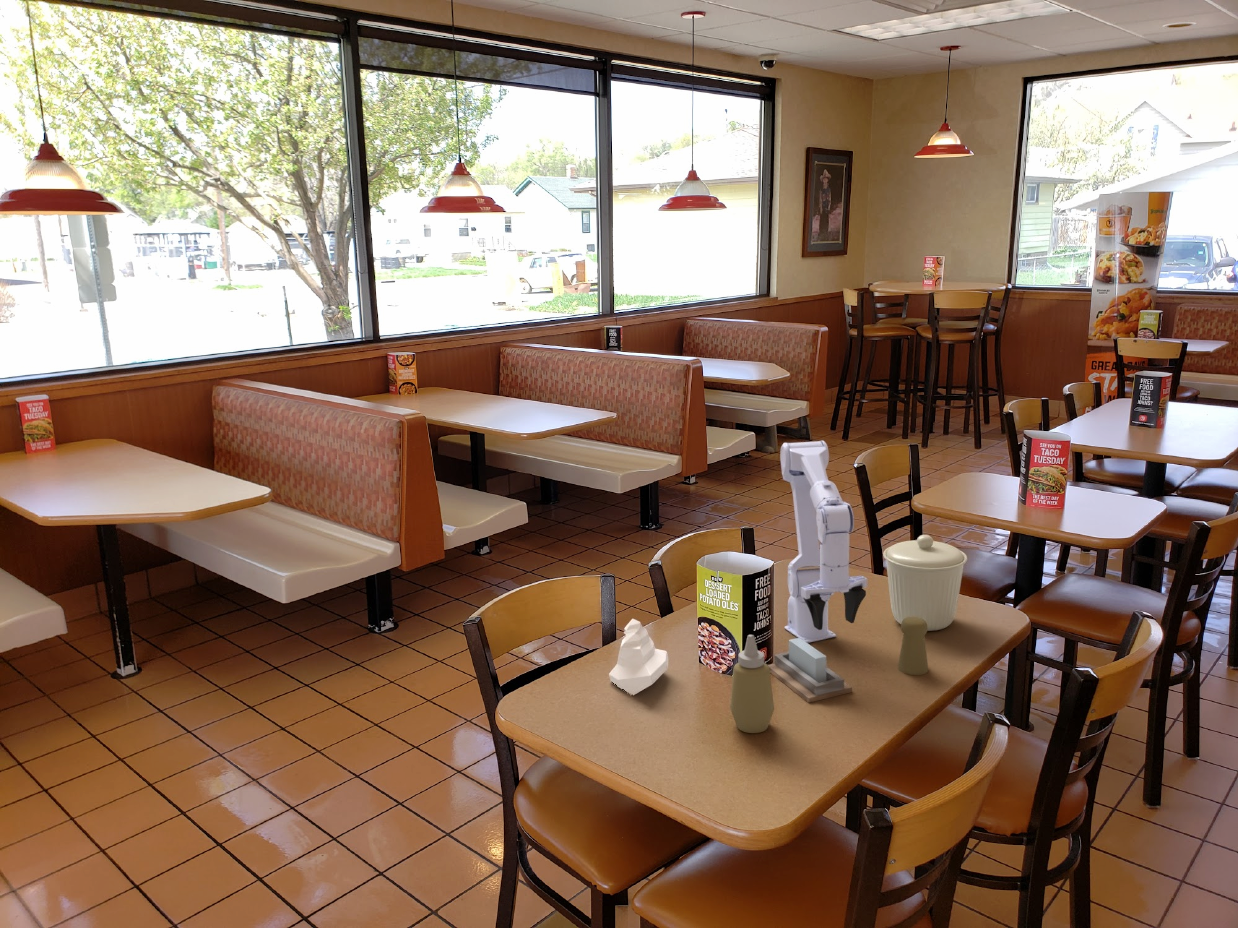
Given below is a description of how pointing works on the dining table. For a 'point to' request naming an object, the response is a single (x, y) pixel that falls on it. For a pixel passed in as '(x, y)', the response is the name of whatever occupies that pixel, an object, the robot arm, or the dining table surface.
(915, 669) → the cork
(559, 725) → the dining table surface
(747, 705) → the squeeze bottle
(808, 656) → the pale blue rectangular brick
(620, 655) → the soft serve ice cream
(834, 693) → the track
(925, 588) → the canister
